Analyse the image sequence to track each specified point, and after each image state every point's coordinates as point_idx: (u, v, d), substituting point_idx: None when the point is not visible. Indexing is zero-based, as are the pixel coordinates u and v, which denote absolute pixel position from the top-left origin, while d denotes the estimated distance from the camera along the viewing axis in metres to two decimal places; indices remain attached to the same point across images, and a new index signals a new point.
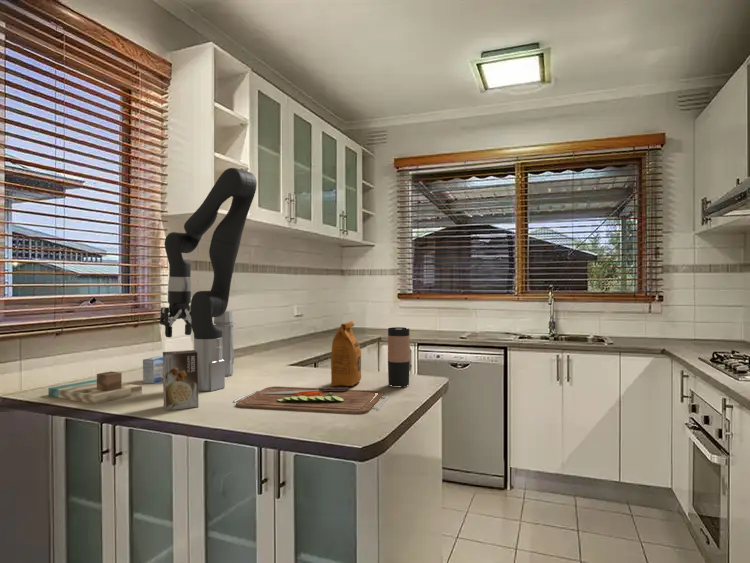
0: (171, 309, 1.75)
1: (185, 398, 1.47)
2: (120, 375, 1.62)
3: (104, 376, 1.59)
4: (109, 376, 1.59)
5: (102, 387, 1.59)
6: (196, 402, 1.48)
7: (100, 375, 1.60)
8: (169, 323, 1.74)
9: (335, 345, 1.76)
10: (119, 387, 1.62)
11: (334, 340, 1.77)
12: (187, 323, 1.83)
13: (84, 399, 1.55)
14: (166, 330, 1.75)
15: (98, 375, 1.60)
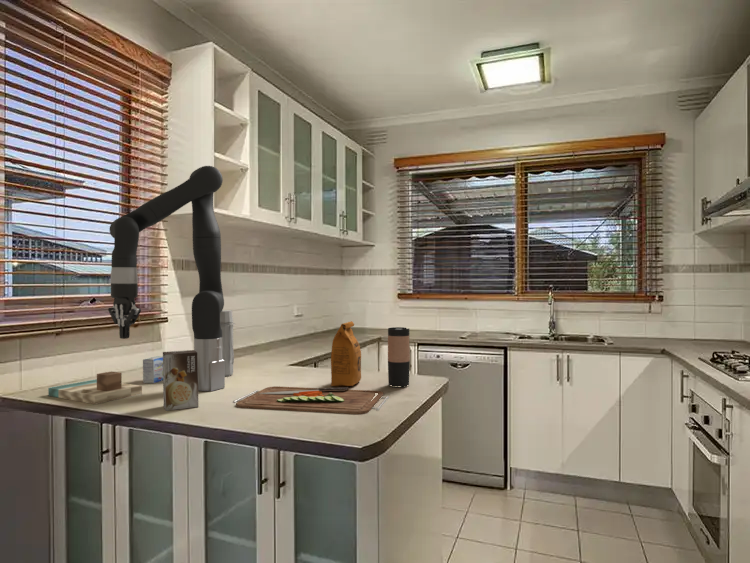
0: (134, 306, 1.57)
1: (185, 398, 1.47)
2: (120, 375, 1.62)
3: (104, 376, 1.59)
4: (109, 376, 1.59)
5: (102, 387, 1.59)
6: (196, 402, 1.48)
7: (100, 375, 1.60)
8: None
9: (335, 345, 1.76)
10: (119, 387, 1.62)
11: (334, 340, 1.77)
12: None
13: (84, 399, 1.55)
14: (127, 330, 1.57)
15: (98, 375, 1.60)
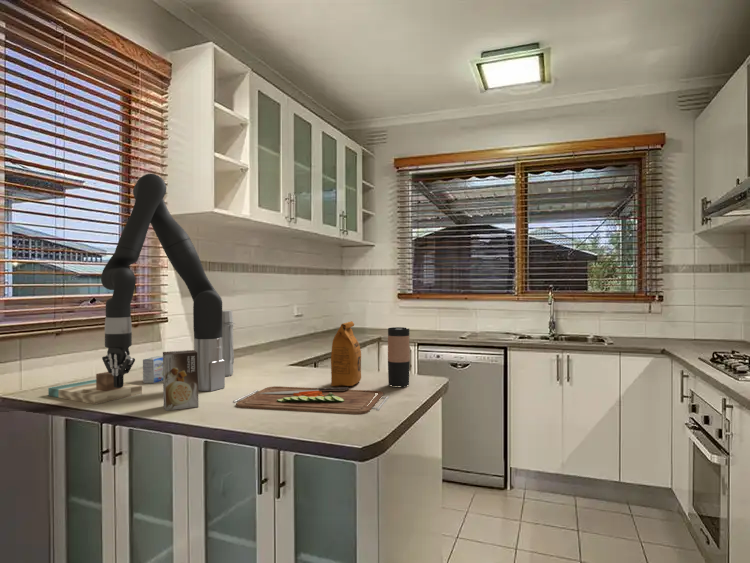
0: (128, 355, 1.58)
1: (185, 398, 1.47)
2: None
3: (104, 376, 1.59)
4: (109, 376, 1.59)
5: (102, 387, 1.60)
6: (196, 402, 1.48)
7: (100, 375, 1.60)
8: None
9: (335, 345, 1.76)
10: None
11: (334, 340, 1.77)
12: None
13: (84, 399, 1.55)
14: (121, 380, 1.59)
15: (97, 375, 1.61)
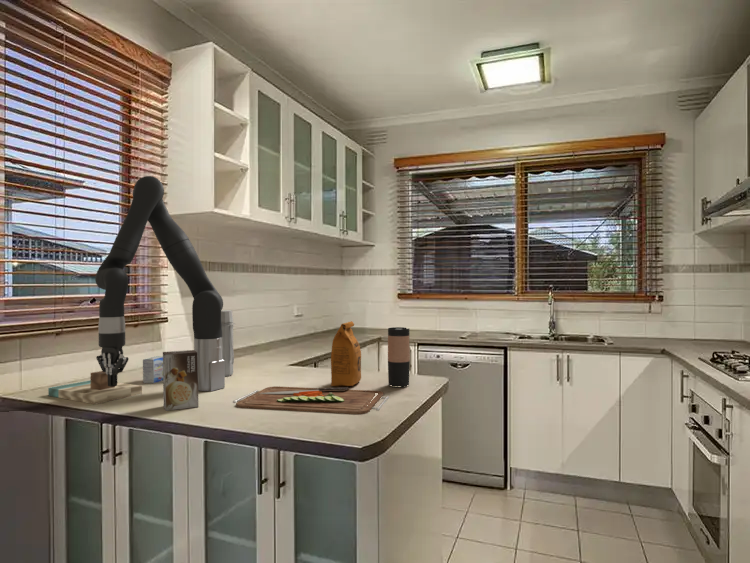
0: None
1: (185, 398, 1.47)
2: None
3: (98, 375, 1.61)
4: (103, 375, 1.61)
5: (96, 385, 1.61)
6: (196, 402, 1.48)
7: (94, 374, 1.62)
8: None
9: (335, 345, 1.76)
10: None
11: (334, 340, 1.77)
12: None
13: (84, 399, 1.55)
14: (115, 379, 1.60)
15: (92, 374, 1.62)
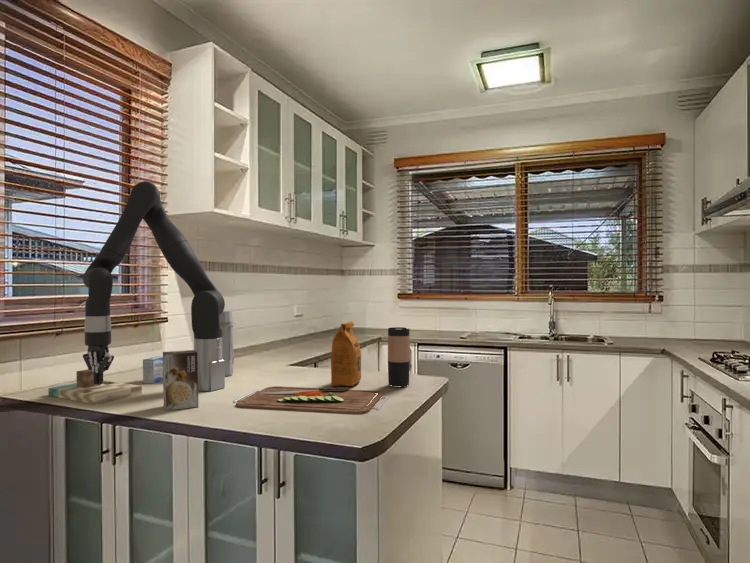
0: None
1: (185, 398, 1.47)
2: None
3: (84, 373, 1.64)
4: (88, 373, 1.64)
5: (82, 383, 1.64)
6: (196, 402, 1.48)
7: (80, 372, 1.65)
8: None
9: (335, 345, 1.76)
10: (99, 384, 1.67)
11: (334, 340, 1.77)
12: None
13: (84, 399, 1.55)
14: (101, 376, 1.63)
15: (78, 372, 1.65)
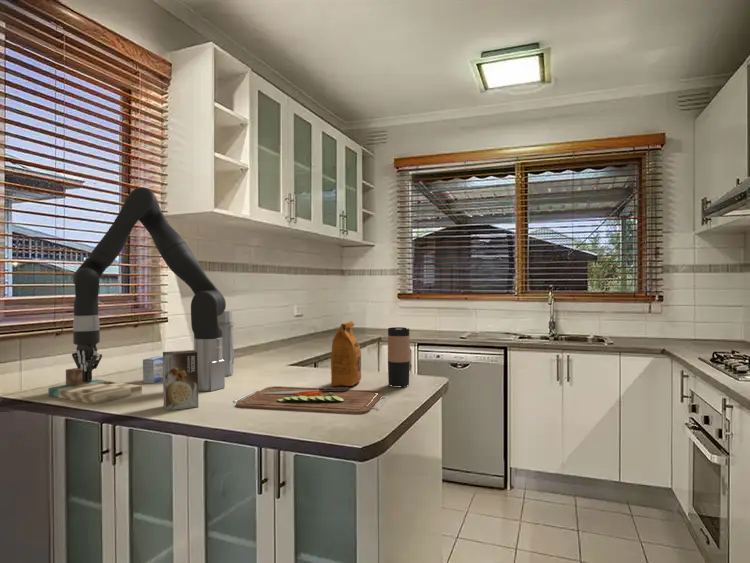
0: None
1: (185, 398, 1.47)
2: None
3: (72, 372, 1.67)
4: (77, 372, 1.67)
5: (71, 382, 1.67)
6: (196, 402, 1.48)
7: (69, 371, 1.68)
8: None
9: (335, 345, 1.76)
10: None
11: (334, 340, 1.77)
12: None
13: (84, 399, 1.55)
14: (89, 375, 1.66)
15: (67, 371, 1.68)
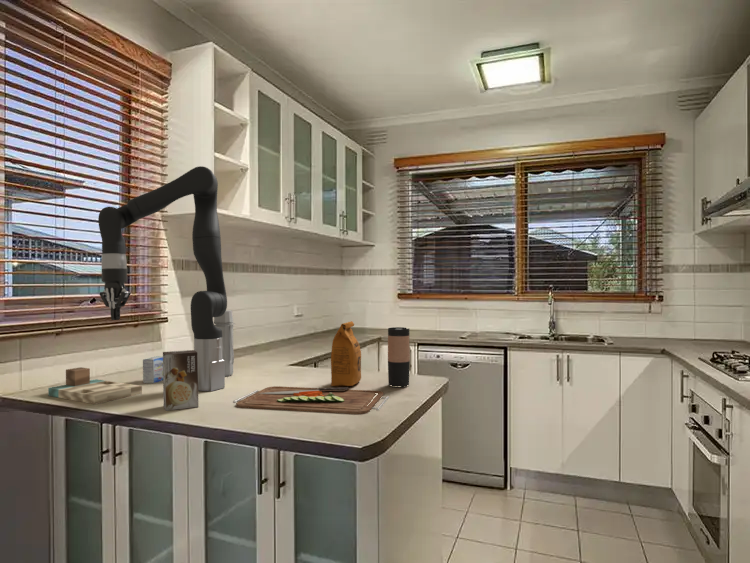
0: None
1: (185, 398, 1.47)
2: (88, 371, 1.70)
3: (72, 372, 1.67)
4: (77, 372, 1.67)
5: (71, 382, 1.67)
6: (196, 402, 1.48)
7: (69, 371, 1.68)
8: None
9: (335, 345, 1.76)
10: (88, 382, 1.70)
11: (334, 340, 1.77)
12: None
13: (84, 399, 1.55)
14: (118, 312, 1.70)
15: (67, 371, 1.68)
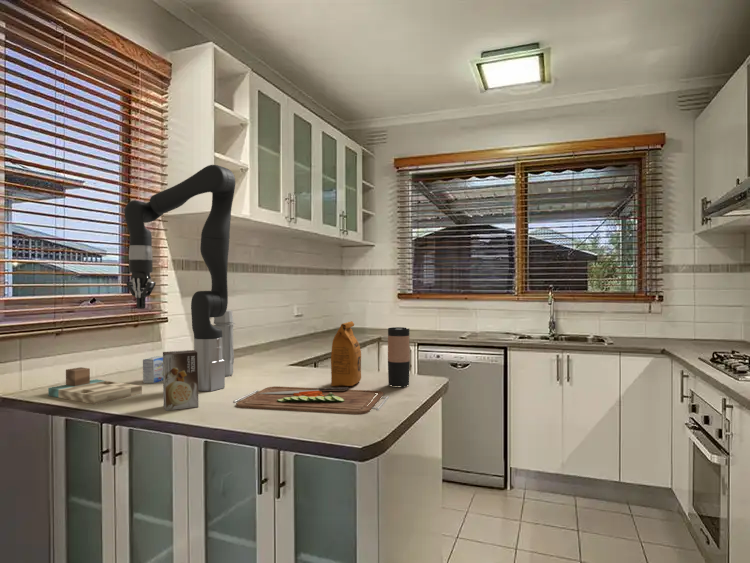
0: None
1: (185, 398, 1.47)
2: (88, 371, 1.70)
3: (72, 372, 1.67)
4: (77, 372, 1.67)
5: (71, 382, 1.67)
6: (196, 402, 1.48)
7: (69, 371, 1.68)
8: None
9: (335, 345, 1.76)
10: (88, 382, 1.70)
11: (334, 340, 1.77)
12: None
13: (84, 399, 1.55)
14: (143, 301, 1.78)
15: (67, 371, 1.68)
